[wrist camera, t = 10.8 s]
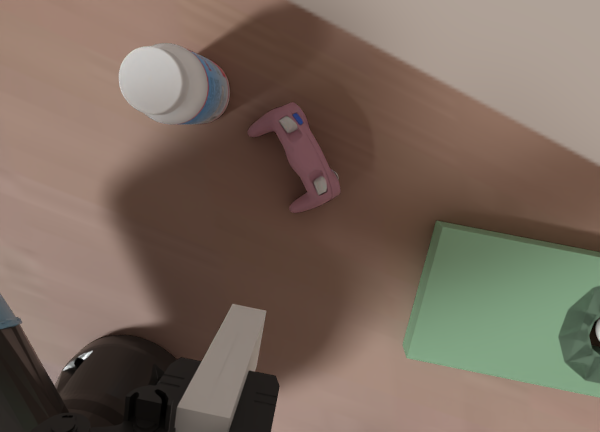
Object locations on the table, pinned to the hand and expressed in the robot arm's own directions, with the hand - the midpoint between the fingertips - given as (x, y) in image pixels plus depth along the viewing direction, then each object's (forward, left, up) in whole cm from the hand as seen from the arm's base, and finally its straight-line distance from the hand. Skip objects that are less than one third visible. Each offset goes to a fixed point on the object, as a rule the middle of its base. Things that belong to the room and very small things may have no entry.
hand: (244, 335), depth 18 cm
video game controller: (+6, +1, -25) cm, 25 cm away
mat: (-5, -27, -24) cm, 37 cm away
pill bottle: (+10, +11, -25) cm, 29 cm away
